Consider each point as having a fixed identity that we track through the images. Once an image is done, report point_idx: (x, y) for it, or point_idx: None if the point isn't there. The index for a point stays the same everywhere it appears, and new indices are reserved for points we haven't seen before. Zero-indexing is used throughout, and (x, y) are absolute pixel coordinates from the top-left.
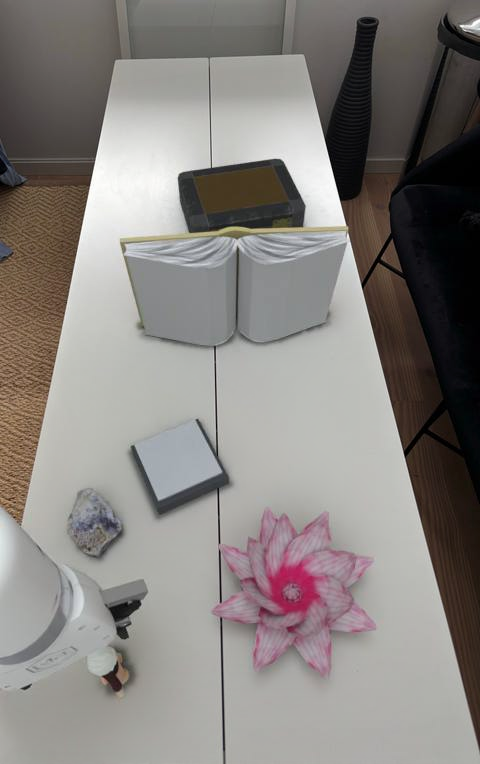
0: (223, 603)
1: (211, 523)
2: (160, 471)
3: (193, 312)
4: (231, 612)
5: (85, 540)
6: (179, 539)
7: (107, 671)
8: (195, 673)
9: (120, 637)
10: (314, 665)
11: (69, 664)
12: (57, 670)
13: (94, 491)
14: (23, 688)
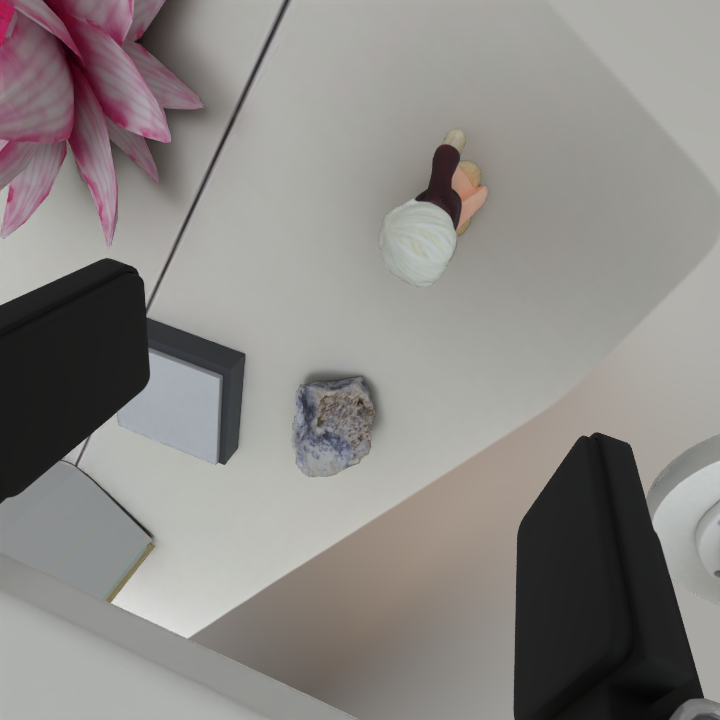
0: (158, 136)
1: (175, 280)
2: (196, 409)
3: (24, 550)
4: (152, 105)
5: (351, 422)
6: (234, 299)
7: (421, 206)
8: (327, 63)
9: (91, 296)
10: None
11: (28, 636)
12: (185, 697)
13: (297, 464)
14: (631, 476)
